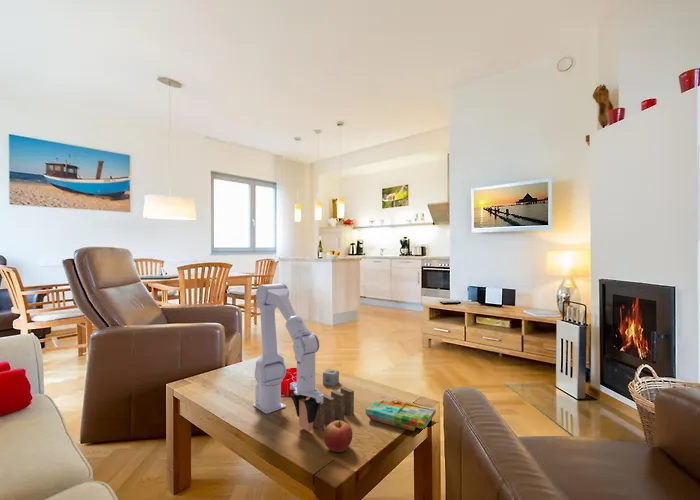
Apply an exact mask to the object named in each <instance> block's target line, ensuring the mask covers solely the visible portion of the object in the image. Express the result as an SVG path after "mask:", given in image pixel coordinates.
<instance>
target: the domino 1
mask: <svg viewBox="0 0 700 500" xmlns="http://www.w3.org/2000/svg"><path fill="white" fill-rule="evenodd" d="M304 401H305V399H301V400H299V417H298V427H300V428H302V429H304V430H305V431H307V432H311V431H313V430H314V426H313V422H311V423H308V419H307V409H306V406H305V403H304Z"/></svg>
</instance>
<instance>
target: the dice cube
mask: <svg viewBox="0 0 700 500" xmlns="http://www.w3.org/2000/svg"><path fill="white" fill-rule="evenodd" d="M339 382H340V370H336V369H331V368H327V369H326V370H325V371H324V372H322V385H324V386H329V387H335V386H336V385H337V384H339Z"/></svg>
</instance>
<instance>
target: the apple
mask: <svg viewBox="0 0 700 500" xmlns="http://www.w3.org/2000/svg"><path fill="white" fill-rule="evenodd" d="M323 440H324V444H325V446H326V448H327V449H328V450H330V451H332V452H336V453H338V452H344V451H346V450H347V449H348V447H350V444H351V443H352V441H353V430H352V428H351V426H350V424H349V423H347V422H345V421H343V420H339V419H338V420H335V421H334V422H332V423H330V424H327V426H326V427H325V428H324V432H323Z"/></svg>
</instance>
